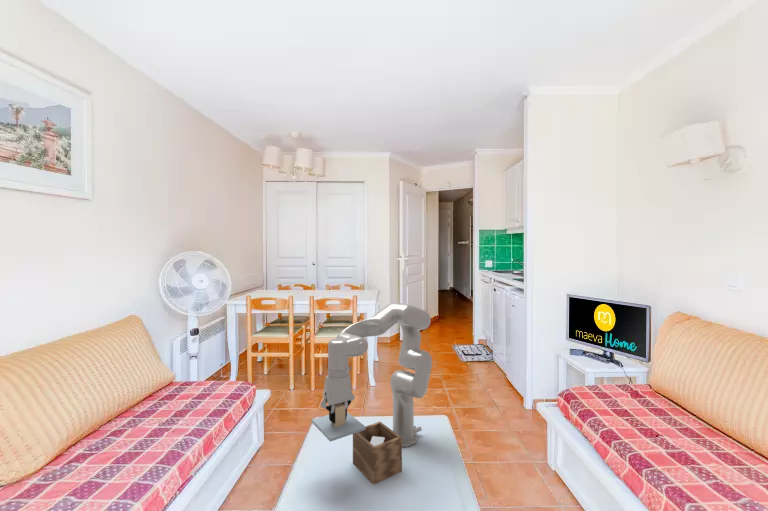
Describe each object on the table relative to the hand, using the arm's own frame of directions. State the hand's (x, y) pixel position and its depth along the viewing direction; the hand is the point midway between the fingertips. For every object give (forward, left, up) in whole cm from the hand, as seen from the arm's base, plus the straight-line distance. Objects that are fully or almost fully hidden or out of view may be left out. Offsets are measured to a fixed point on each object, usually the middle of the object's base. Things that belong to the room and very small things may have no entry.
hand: (338, 419), depth 130 cm
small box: (-16, +2, -23) cm, 28 cm away
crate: (-16, +2, -23) cm, 28 cm away
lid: (0, 0, -3) cm, 3 cm away
